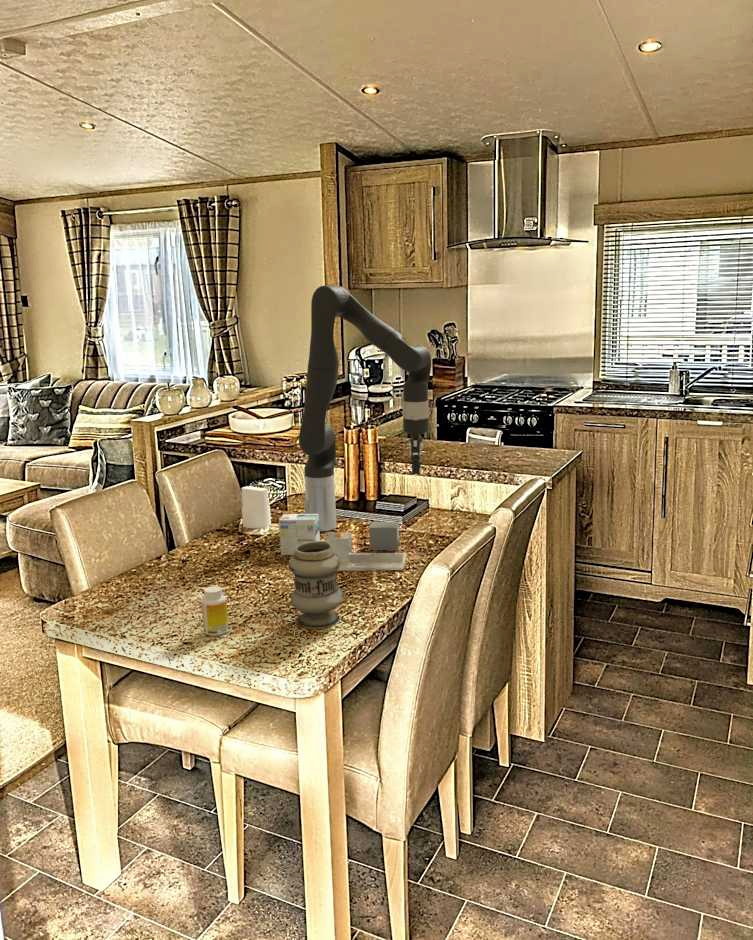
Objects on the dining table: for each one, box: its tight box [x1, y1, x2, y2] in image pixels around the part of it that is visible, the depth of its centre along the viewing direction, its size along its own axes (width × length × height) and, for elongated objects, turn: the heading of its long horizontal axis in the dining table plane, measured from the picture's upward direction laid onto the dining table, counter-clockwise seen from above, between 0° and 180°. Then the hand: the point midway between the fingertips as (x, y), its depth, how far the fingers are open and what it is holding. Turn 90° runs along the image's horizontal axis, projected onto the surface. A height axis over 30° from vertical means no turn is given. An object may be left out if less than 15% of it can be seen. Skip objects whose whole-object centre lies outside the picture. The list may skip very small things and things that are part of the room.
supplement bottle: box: [200, 585, 230, 637], centre depth 191 cm, size 6×6×10 cm
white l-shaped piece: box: [325, 531, 407, 572], centre depth 233 cm, size 22×12×9 cm, turn 84°
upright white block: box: [241, 485, 272, 529], centre depth 274 cm, size 9×9×12 cm
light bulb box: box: [278, 513, 321, 556], centre depth 245 cm, size 11×7×11 cm, turn 84°
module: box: [368, 521, 400, 551], centre depth 246 cm, size 8×6×7 cm
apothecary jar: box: [288, 540, 344, 630], centre depth 194 cm, size 12×12×18 cm
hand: (416, 470), depth 250 cm, fingers open, 8 cm apart
